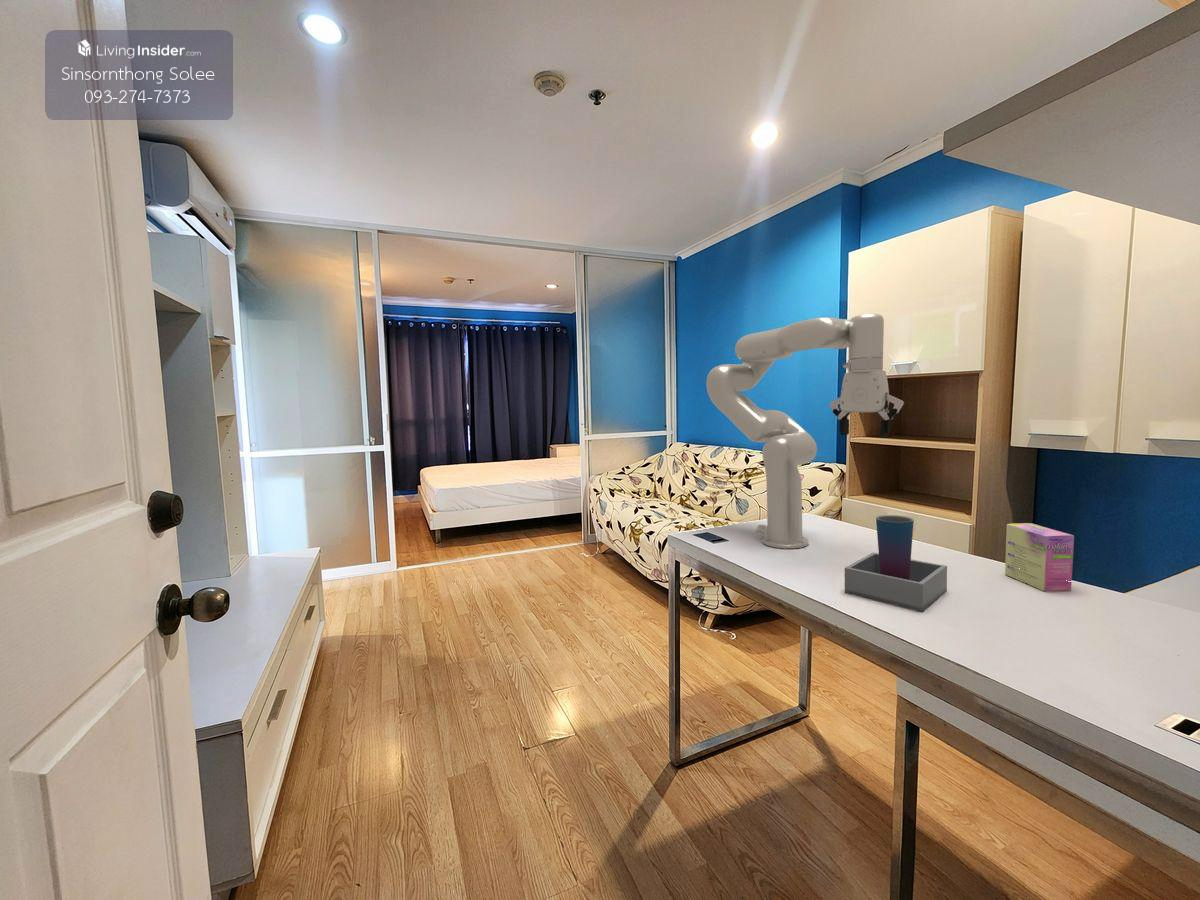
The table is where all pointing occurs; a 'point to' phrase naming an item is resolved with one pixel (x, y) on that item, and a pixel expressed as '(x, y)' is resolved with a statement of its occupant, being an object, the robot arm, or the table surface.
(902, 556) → the cup
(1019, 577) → the box
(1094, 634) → the table surface
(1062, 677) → the table surface
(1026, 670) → the table surface
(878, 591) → the box
